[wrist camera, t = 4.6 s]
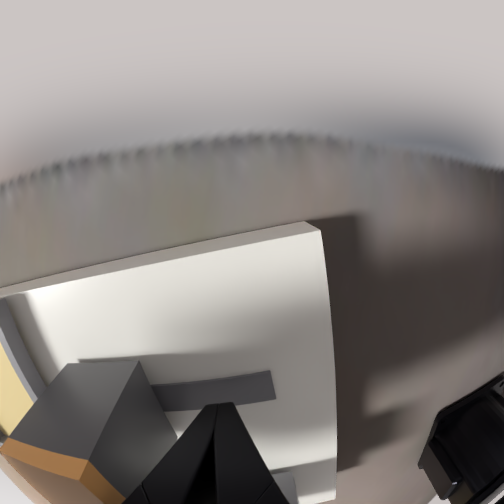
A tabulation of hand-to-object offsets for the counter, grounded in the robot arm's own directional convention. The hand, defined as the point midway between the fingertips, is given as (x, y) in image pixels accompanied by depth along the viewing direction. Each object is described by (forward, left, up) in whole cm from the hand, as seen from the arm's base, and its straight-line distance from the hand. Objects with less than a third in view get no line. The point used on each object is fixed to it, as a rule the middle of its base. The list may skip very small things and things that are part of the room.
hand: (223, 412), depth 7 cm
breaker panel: (+6, +3, -3) cm, 8 cm away
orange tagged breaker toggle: (+4, 0, -1) cm, 4 cm away
